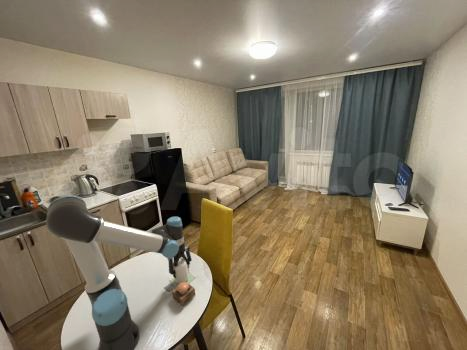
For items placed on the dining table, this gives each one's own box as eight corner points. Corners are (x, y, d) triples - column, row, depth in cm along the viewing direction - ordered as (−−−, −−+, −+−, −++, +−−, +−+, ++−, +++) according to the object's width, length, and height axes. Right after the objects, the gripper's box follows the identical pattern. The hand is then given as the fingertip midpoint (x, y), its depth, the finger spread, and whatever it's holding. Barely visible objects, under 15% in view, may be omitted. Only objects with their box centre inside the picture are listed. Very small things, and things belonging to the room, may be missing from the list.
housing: (182, 306, 98) (181, 299, 97) (172, 298, 103) (171, 291, 102) (195, 295, 104) (194, 288, 103) (185, 287, 109) (184, 281, 108)
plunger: (183, 302, 99) (181, 293, 98) (176, 296, 103) (174, 287, 101) (192, 294, 104) (190, 285, 102) (185, 289, 108) (183, 280, 106)
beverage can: (190, 273, 118) (187, 257, 115) (186, 284, 111) (182, 267, 107) (178, 272, 119) (174, 257, 116) (173, 283, 112) (169, 267, 108)
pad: (180, 290, 108) (180, 289, 108) (169, 281, 115) (169, 280, 114) (195, 277, 116) (195, 277, 116) (184, 269, 123) (184, 269, 123)
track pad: (168, 291, 107) (168, 291, 107) (164, 287, 110) (164, 287, 110) (175, 286, 111) (175, 286, 110) (170, 282, 113) (170, 282, 113)
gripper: (165, 255, 99) (171, 291, 105) (195, 237, 114) (199, 269, 120) (157, 250, 104) (164, 284, 110) (187, 233, 119) (191, 264, 124)
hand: (182, 276), depth 115 cm, fingers closed on beverage can, 7 cm apart
